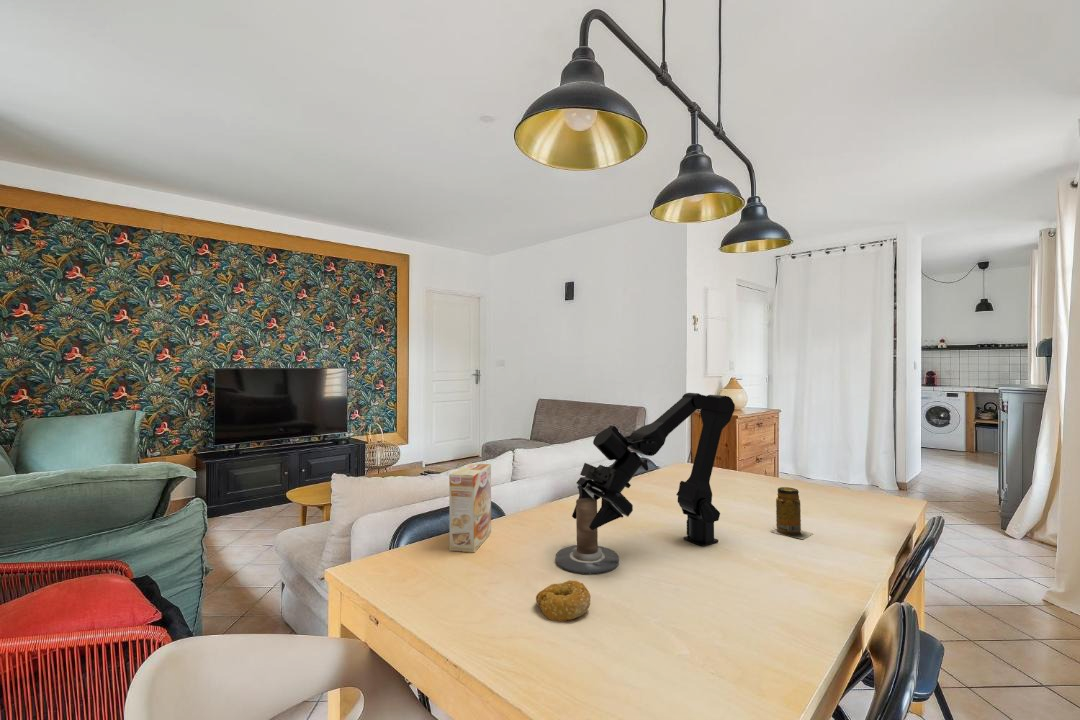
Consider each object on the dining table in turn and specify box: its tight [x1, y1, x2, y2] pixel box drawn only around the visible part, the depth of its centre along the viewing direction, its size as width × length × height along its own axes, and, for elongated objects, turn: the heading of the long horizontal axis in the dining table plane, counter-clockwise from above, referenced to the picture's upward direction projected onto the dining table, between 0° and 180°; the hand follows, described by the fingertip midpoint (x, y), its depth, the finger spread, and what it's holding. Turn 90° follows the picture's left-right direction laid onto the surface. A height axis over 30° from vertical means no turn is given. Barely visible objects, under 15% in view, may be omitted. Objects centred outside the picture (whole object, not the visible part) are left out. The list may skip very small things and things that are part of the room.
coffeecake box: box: [448, 463, 492, 553], centre depth 131 cm, size 15×7×20 cm, turn 168°
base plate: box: [555, 544, 620, 575], centre depth 117 cm, size 15×15×1 cm
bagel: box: [535, 580, 591, 622], centre depth 94 cm, size 10×11×5 cm
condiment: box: [770, 486, 814, 540], centre depth 135 cm, size 7×8×12 cm
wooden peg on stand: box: [573, 498, 602, 561], centre depth 117 cm, size 7×7×13 cm
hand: (581, 523), depth 116 cm, fingers open, 9 cm apart
